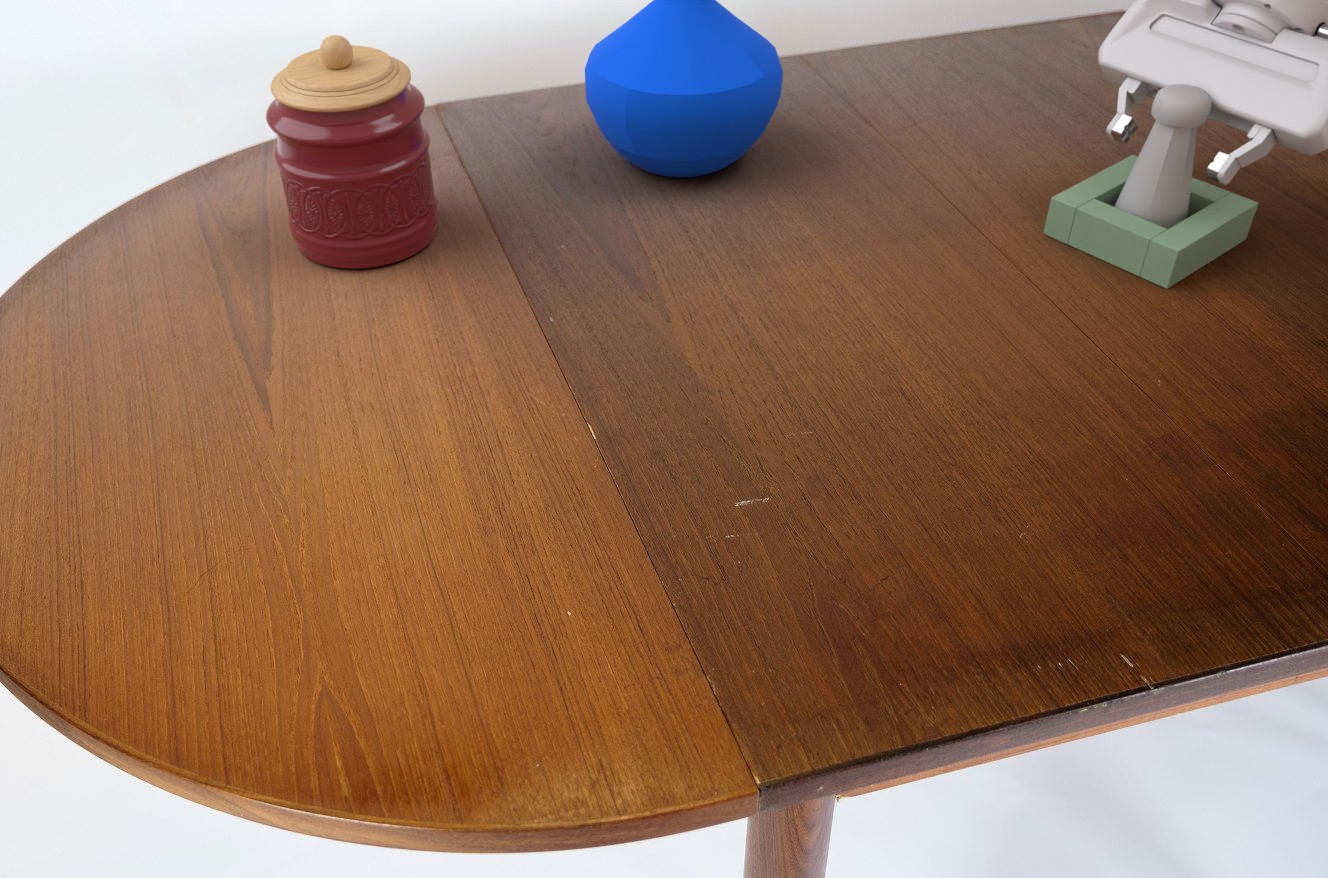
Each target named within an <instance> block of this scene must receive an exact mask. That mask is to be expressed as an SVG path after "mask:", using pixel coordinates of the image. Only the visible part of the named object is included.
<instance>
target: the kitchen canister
mask: <svg viewBox="0 0 1328 878" xmlns="http://www.w3.org/2000/svg"><path fill="white" fill-rule="evenodd" d="M411 80H412V73H411V70H410V67H408V65H407V64H406V63H405V62H403V61H402V60H400V59H398V58H396V57H393V56H392V55H389V54H388V53H386V52H385V51H383V50H380V49H378V48H375V47H371V46H365V45H356V44H355V45H353V44H351V43H350V41H349V40H348V39H347V38H345V37H344V36H342V35H339V34H333V35H329V36H327V37H325V38H324V39H323V40H322V42H321V44H320V47H319V48H317V49H314V50H311V51H308V52H305V53H303V54H301V55H299V56H297V57H295V58H293V59H292V60H291V61H290V62H289V63H288V64H287V66H286V67H284V68H283V69H281V70H280V71H279V72H278V73H277V74H276V75H275V76H274V77H273V78H272V80H271V83H270V92H271V94H272V96H273V98H274V99H273V100H272V101H271V102H270V104H269V106H268V107H267V110H266V113H265V120H266V123H267V125H268V127H269V129H270V130H271V131H272V132H273V133H275V135H276V144H275V146H274V150H273V159H274V162H275V164H276V166H278V169H279V174H280V180H281V184H282V188H283V193H284V198H285V203H286V207H287V212H288V213H287V223H288V226H289V231H290V234H291V237H292V238H293V240H294V241H295V245H296V247H297V249H298V250H299V252H300V253H301V254H302V255H303V256H304V257H306V258H307V259H309V260H311V261H313V262H315V263H318V264H321V265H324V266H328V267H332V268H337V269H353V270H355V269H356V270H357V269H368V268H369V269H370V268H376V267H382V266H386V265H391V264H394V263H398V262H400V261H403V260H405V259H407V258H410V257H411V256H413V255H416V254H418V253H419V252H421V251H422V250H423V249H425V248H426V247H428V245H430V243H431V242H432V241H433V240H434V239H435V236H436V234H437V231H438V222H439V221H438V220H439V215H440V212H439V211H440V210H439V207H438V206H439V201H438V199H437V196H436V194H435V187H434V180H433V173H432V164H431V156H430V144H431V138H430V134H429V132H428V130H427V129H426V128H425V126H424V125H423V124H422V120H421V119H422V118H421V116H422V115H423V112H424V110H425V107H426V100H425V97H424V94H423V93H422V91H420V89H419V88H418V87H417V86H415V85H414V84H412V83H411Z"/></svg>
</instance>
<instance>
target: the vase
mask: <svg viewBox="0 0 1328 878" xmlns="http://www.w3.org/2000/svg"><path fill="white" fill-rule="evenodd" d="M783 76H784V71H783V68H782V64H781V62H780V57H779V55H778V52H777V48H776V46H775V45H774V44H773V43H771V42H770V40H768V38H766V37H764V36H763V35H762V34H761V33H759V32H758V31H757V30H755V29H754V28H752V27H751V26H750V25H748V24H747V23H746V22H744V21H743V20H741V19H740V18H738V17H737V16H736V15H735V14H733V13H732V12H731V11H730V10H729V9H727V8H726V7H725V6H723V5H722V4H721V3H720V2H719V1H717V0H651V2H649V3H648V4H647V5H646V6H644V7H643V8H642V9H640V10H639V11H638V12H636V13H635V14H634V15H633V16H631V18H629V19H628V20H627V21H625V22H624V23H623V24H622V25H620V26H619V27H617V28H616V29H615V30H613V31H612V32H610V33H609V34H608V35H607V36H605V37H604V38H602V39H600V41H598V42H597V43H595V45H594V46H593V48H592V49H591V51H590V53H589V56H588V58H587V61H586V64H585V66H584V84H585V85H584V86H585V100H586V104H587V106H588V108H589V110H590V112H591V114H592V117H593V118H594V121H595V123H596V125H597V127H598V130H599V131H600V133H601V134H602V136H603V137H604V139H605V140H606V142H608V144H609V145H611V147H612V148H613V149H614V150H615V151H616V153H618V155H620V156H621V157H623V158H624V159H625V160H627V161H628V162H629V163H631V164H632V165H634V166H636V167H638V168H639V169H641V170H642V171H645V172H648V173H650V174H654V175H658V176H663V177H668V178H669V177H670V178H695V177H700V176H701V177H702V176H707V175H710V174H713V173H716V172H719V171H721V170H723V169H724V168H726V167H728V166H729V165H731V164H733V163H734V162H737V161H738V160H739V159H741V158H742V157H743V156H744V155H746V153H747V152H748V151H749V150H750V149H751V148H752V146H753V145H755V144H756V142H757V141H758V140H759V139H760V138H761V137H762V136H763V135H764V133H765V131H766V130H767V127H768V125H769V123H770V121H771V119H772V118H773V115H774V113H775V111H776V109H777V107H778V105H779V102H780V99H781V96H782V88H783V78H784V77H783Z"/></svg>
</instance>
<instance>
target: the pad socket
mask: <svg viewBox="0 0 1328 878" xmlns="http://www.w3.org/2000/svg"><path fill="white" fill-rule="evenodd" d="M1137 158H1138V156H1137V155H1135V154H1131V155H1129V156H1128V157H1126V158H1124V159H1122V160H1120V161H1118V162H1116V163H1114V164H1112V165H1110V166H1108V167H1106V168H1105V169H1103V170H1100V171H1098V172H1096V173H1095V174H1093V175H1091V176H1090V177H1087V178H1086V179H1084V180H1082V181H1080V182H1078V183H1076V184H1074V185H1072V186H1070V187H1068V188H1067V189H1065V190H1062V191H1060V192H1059V193H1057V194H1056V195H1053V196H1051V198H1050V201H1049V206H1048V211H1047V214H1046V219H1045V224H1044V229H1043V233H1042V234H1043V235H1045V236H1048V237H1050V238H1052V239H1054V240H1056V241H1058V242H1061V243H1063V244H1065V245H1068V246H1070V247H1072V248H1074V249H1076V250H1079V251H1081V252H1082V253H1085V254H1088V255H1090V256H1092V257H1094V258H1097V259H1099V260H1101V261H1103V262H1106V263H1108V264H1109V265H1112V266H1115V267H1117V268H1119V269H1122V270H1123V271H1126V272H1128V273H1130V274H1133V275H1135V276H1137V277H1139V278H1142V279H1144V280H1146V281H1147V282H1151V283H1152V284H1155V285H1157V286H1159V287H1161V288H1163V289H1166V290H1168V289H1169V288H1172V286H1174V285H1176V284H1177V283H1179V282H1180V281H1182V280H1184V279H1185V278H1187V277H1189V276H1190V275H1192V274H1193V273H1194V272H1197V271H1198V270H1200V269H1201V268H1203V267H1204V266H1205V265H1208V264H1209V263H1211V262H1213V261H1214V260H1216V259H1218V258H1219V257H1221V256H1222V255H1224V254H1225V253H1227V252H1228V251H1230V250H1231V249H1233V248H1235V247H1236V246H1238V245H1240V244H1241V243H1243V242H1245V241H1246V240H1247V238H1248V235H1249V233H1250V229H1251V227H1252V224H1253V220H1254V218H1255V215H1256V213H1257V209H1258V206H1259V202H1257V201H1256V200H1252V199H1250V198H1247V197H1245V196H1243V195H1240V194H1237V193H1234V192H1232V191H1229V190H1226V189H1224V188H1221V187H1219V186H1216V185H1214V184H1211V183H1208V182H1206V181H1203V180H1201V179H1197V178H1196V177H1193V176H1192V181H1191V190H1190V199H1189V208H1188V215H1187V218H1186V219H1185V220H1183V221H1182V222H1180V223H1178V224H1176V225H1175V226H1173V227H1171V228H1170V229H1168V230H1167V229H1166V228H1164V227H1161V226H1159V225H1156V224H1154V223H1152V222H1149V221H1147V220H1144V219H1142V218H1140V217H1137V216H1135V215H1132V214H1130V213H1128V212H1125V211H1123V210H1120V209H1118V208H1115V207H1114V206H1115V204H1116V202H1117V199H1118V197H1119V195H1120V193H1121V191H1122V189H1123V187H1124V185H1125V183H1126V181H1127V179H1128V177H1129V175H1130V173H1131V171H1132V169H1133V167H1134V165H1135V162H1136V160H1137Z"/></svg>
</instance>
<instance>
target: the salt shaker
mask: <svg viewBox="0 0 1328 878" xmlns="http://www.w3.org/2000/svg"><path fill="white" fill-rule="evenodd" d="M1211 104H1212V99H1211V97H1210V96H1209V94H1208V93H1207V92H1206V91H1205V90H1203V89H1201V88H1199V87H1196V86H1192V85H1185V84H1174V85H1169V86H1166V87H1164V88H1162V89H1160V90H1159V91H1158V93H1157V95H1156V97H1155V98H1153V101H1152V105H1151V108H1150V109H1151V111H1150V112H1151V116H1152V117H1153V119H1154V120H1155V121H1154V124H1153V125H1152V128H1151V130H1150V132H1149V134H1148V135H1147V138H1146V139H1145V142H1144V143H1143V146H1142V148H1141V151H1140V152H1139V154H1138V156H1137V157H1138V158H1137V160H1136V162H1135V165H1134V167H1133V169H1132V171H1131V173H1130V175H1129V177H1128V179H1127V181H1126V183H1125V185H1124V187H1123V189H1122V191H1121V193H1120V195H1119V197H1118V199H1117V202H1116V204H1115V206H1114V207H1115V208H1118V209H1120V210H1123V211H1125V212H1128V213H1130V214H1132V215H1135V216H1137V217H1140V218H1142V219H1144V220H1147V221H1149V222H1152V223H1154V224H1156V225H1159V226H1161V227H1164V228H1166V229H1167V230H1168V229H1170V228H1171V227H1173V226H1175V225H1176V224H1178V223H1180V222H1182V221H1183V220H1185V219H1186V218H1187V215H1188V208H1189V199H1190V190H1191V181H1192V177H1193V171H1194V161H1195V154H1196V146H1197V145H1196V144H1197V136H1198V135H1197V134H1198V127H1200V126H1202V125H1204V124H1205V123H1206V121H1207V119H1208V118H1207V117H1208V115H1209V112H1210V109H1211Z"/></svg>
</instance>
